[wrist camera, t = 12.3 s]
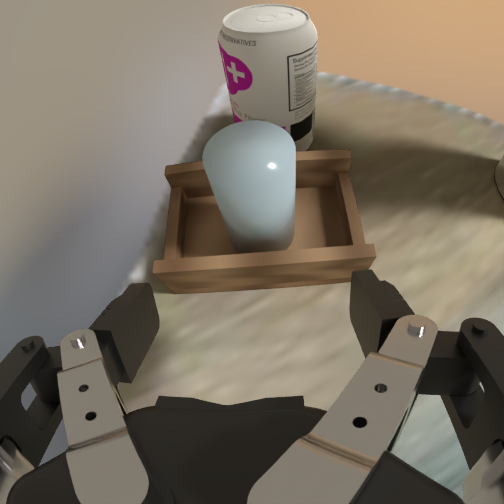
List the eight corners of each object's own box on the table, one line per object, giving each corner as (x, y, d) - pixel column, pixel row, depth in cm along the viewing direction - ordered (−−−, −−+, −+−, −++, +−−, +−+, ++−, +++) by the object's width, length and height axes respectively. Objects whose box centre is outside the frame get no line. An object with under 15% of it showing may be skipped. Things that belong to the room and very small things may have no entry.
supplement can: (250, 174, 31) (226, 44, 18) (231, 124, 35) (207, 12, 21) (324, 156, 31) (335, 28, 18) (296, 109, 35) (294, -2, 21)
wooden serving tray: (341, 184, 30) (349, 149, 25) (360, 280, 25) (376, 256, 21) (182, 198, 31) (165, 166, 26) (175, 294, 27) (152, 272, 22)
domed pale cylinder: (297, 205, 28) (298, 122, 19) (291, 263, 25) (292, 191, 16) (235, 201, 28) (213, 120, 19) (224, 257, 26) (191, 186, 17)
